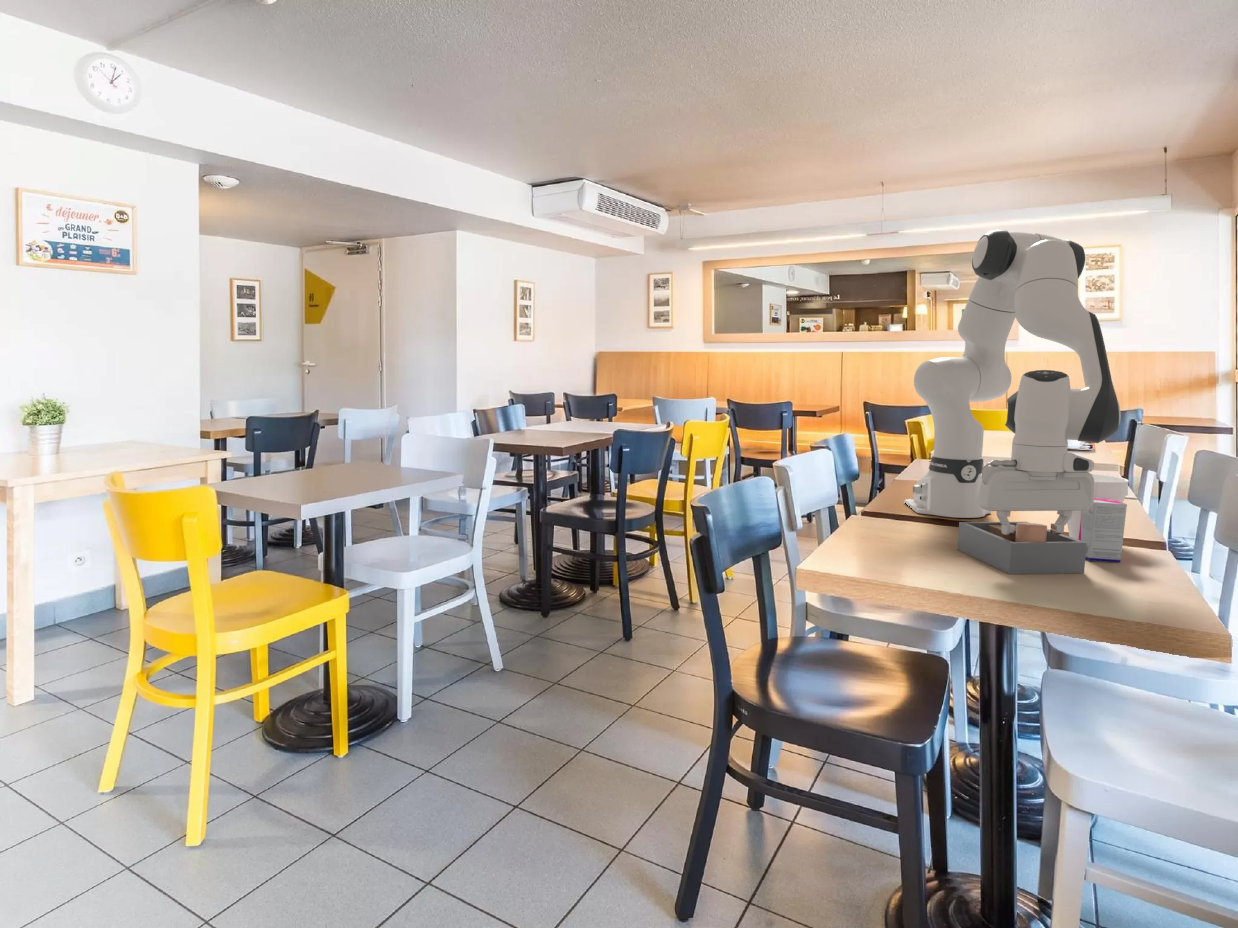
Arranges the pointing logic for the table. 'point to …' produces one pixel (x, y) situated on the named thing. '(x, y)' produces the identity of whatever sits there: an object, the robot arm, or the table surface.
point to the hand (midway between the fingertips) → (1032, 534)
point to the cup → (1100, 497)
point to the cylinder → (1030, 532)
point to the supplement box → (1103, 530)
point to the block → (997, 531)
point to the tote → (1022, 551)
